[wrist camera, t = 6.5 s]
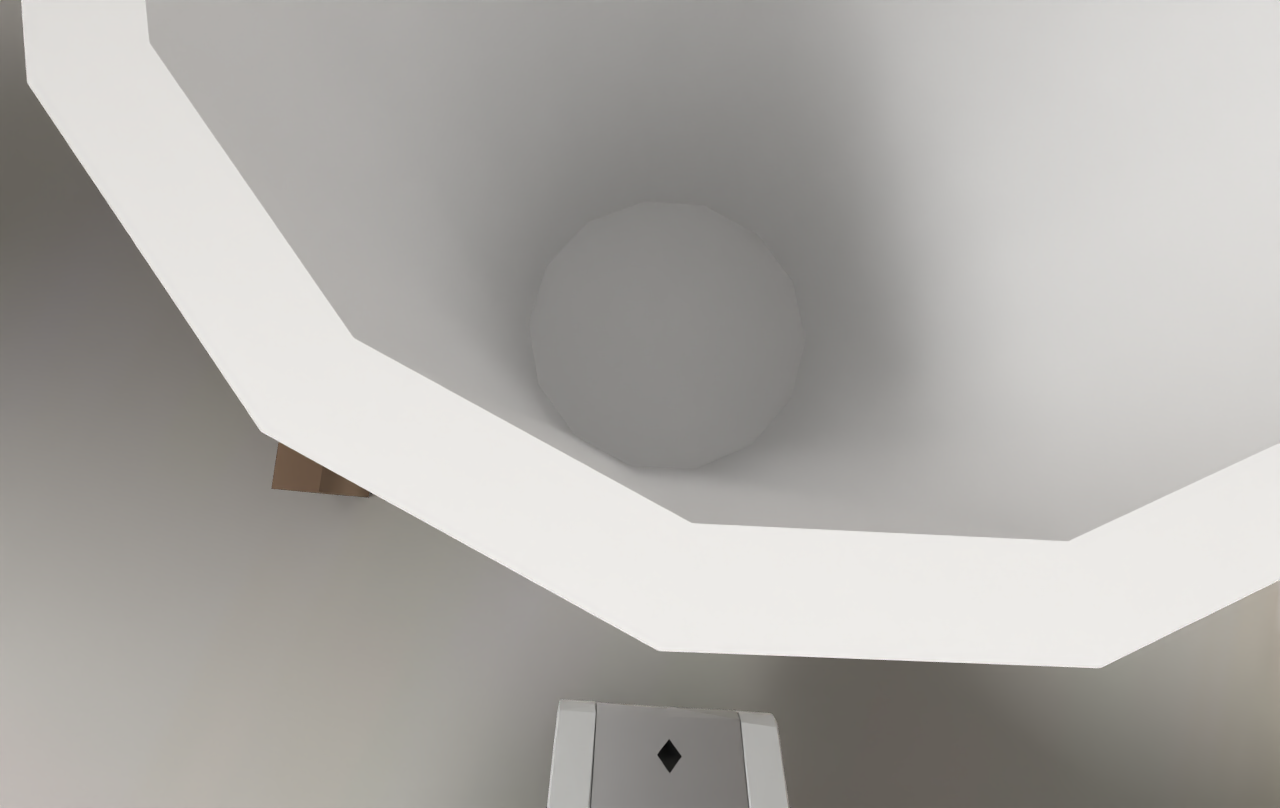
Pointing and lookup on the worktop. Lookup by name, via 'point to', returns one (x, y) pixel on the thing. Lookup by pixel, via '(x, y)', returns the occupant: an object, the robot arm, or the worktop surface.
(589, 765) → the robot arm
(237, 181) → the foam cup
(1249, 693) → the worktop surface
